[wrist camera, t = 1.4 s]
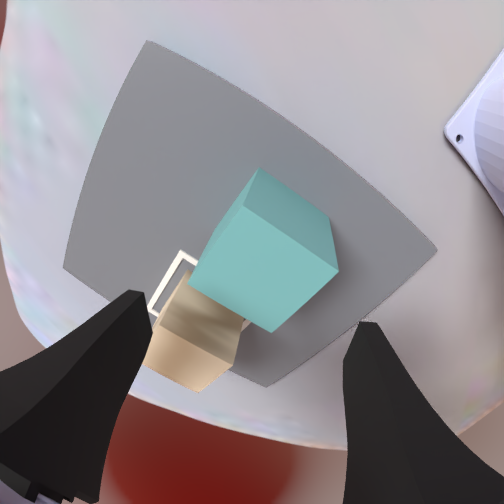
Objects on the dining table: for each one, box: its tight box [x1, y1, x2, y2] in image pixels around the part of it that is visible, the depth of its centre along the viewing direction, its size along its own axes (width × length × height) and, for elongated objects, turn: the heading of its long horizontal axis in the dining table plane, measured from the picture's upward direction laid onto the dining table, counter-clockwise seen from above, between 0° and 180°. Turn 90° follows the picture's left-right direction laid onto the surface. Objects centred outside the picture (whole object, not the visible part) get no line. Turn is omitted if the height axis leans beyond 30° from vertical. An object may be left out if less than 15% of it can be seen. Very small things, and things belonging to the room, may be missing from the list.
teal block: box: [187, 167, 339, 333], centre depth 14 cm, size 4×4×5 cm
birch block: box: [142, 270, 244, 393], centre depth 18 cm, size 4×4×5 cm
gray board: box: [63, 40, 437, 387], centre depth 18 cm, size 20×18×1 cm
